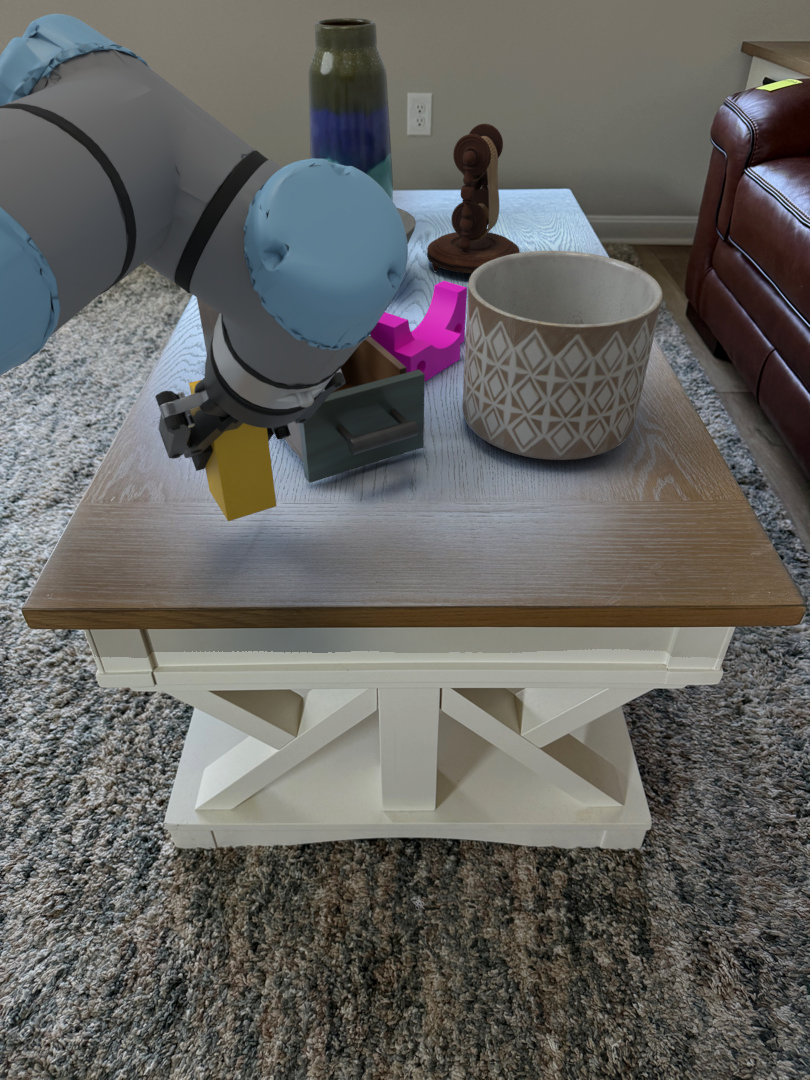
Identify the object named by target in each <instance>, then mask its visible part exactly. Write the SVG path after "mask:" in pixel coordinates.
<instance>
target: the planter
mask: <svg viewBox="0 0 810 1080" xmlns="http://www.w3.org/2000/svg"><path fill="white" fill-rule="evenodd" d="M470 274H471V275H470V276H469V279H468V287H467V302H466V321H465V340H464V342H465V345H464V360H463V361H464V363H463V379H462V381H463V382H462V400H461V402H462V403H461V410H462V415H463V418H464V420H465V422H466V424H467V425H468V427H469V428H470V429H471V430H472V431H473V433H475V434H476V435H477V436H478V437H479V438H481V439H482V440H484V442H487V443H488V444H490V445H492V446H494V447H496V448H498V449H501V450H503V451H506V452H509V453H511V454H514V455H518V456H523V457H525V458H526V457H528V458H532V459H539V460H550V461H569V460H571V461H572V460H581V459H585V458H590V457H595V456H598V455H601V454H604V453H607V452H609V451H611V450H613V449H615V448H617V447H618V446H620V445H621V444H622V443H623V442H625V441H626V440H627V438H628V437H629V436H630V435H631V433H632V432H633V431H634V428H635V424H636V421H637V416H638V411H639V407H640V403H641V397H642V393H643V388H644V384H645V379H646V374H647V370H648V366H649V361H650V356H651V351H652V347H653V343H654V337H655V333H656V329H657V324H658V320H659V315H660V310H661V306H662V302H663V295H664V294H663V289H662V287H661V286H660V284H659V283H658V281H657V280H656V279H655V278H654V277H653V276H652V275H650V273H647V272H646V271H645V270H643V269H641V268H639V267H637V266H635V265H633V264H630V263H628V262H625V261H623V260H619V259H616V258H612V257H608V256H604V255H600V254H595V253H589V252H580V251H574V250H573V251H572V250H531V251H523V252H520V253H516V254H510V255H506V256H502V257H499V258H496V259H493V260H491V261H488V262H486V263H484V264H483V265H481V266H480V267H478V268H477V269H476V270H475V271H474V272H473V273H470Z"/></svg>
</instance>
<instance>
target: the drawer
mask: <svg viewBox="0 0 810 1080" xmlns="http://www.w3.org/2000/svg"><path fill="white" fill-rule="evenodd" d="M341 371H342V373H343V376H344V379H345V382H346V383H345V384H344V385H342V387H340V388H338V389H336V390H335V391H333V392H332V393H331V394H330V395H329V396H328V397H327V399H326V400H325V401H324V402H323V403H322V404H321V406H320V407H319V408H318V409H317V410H316V411H315V413H314V414H313V415H312V416H311V417H310V418H309V419H308V420H307V421H306V422H304V423H296V422H295V421H294V422H292V423H289V424H288V428H289V431H290V434H291V435H290V436H289V437H286V438H284V439H283V440H284V441H285V443H287V444H288V446H289V447H290V448H291V450H292V451H293V452H294V453H295V455H297V457H298V458H299V459H300V461H301V462H302V463H303V472H304V478H305V479H306V481H307V482H308V483H309V484H311V483H314V482H317V481H320V480H324V479H326V478H329V477H334V476H337V475H339V474H343V473H346V472H349V471H353V470H357V469H359V468H362V467H365V466H369V465H372V464H375V463H378V462H381V461H384V460H387V459H391V458H394V457H397V456H401V455H404V454H407V453H410V452H413V451H417V450H421V449H423V448H424V442H425V441H424V440H425V439H424V437H425V433H424V432H425V425H424V424H425V382H426V381H425V374H424V373H423V372H421V371H420V370H415V371H411V372H408V373H406V367H405V366H404V365H403V364H402V363H401V362H399V361H398V360H397V359H396V358H395V357H394V356H392V355H391V354H390V353H389V352H388V351H387V350H385V349H384V348H383V347H382V346H381V345H380V344H378V343H377V342H376V341H375V340H374V339H373V338H371V337H370V335H369V336H368V337H367V338H366V339H365V340H364V341H363V342H362V343H361V344H360V345H359V346H358V348H357V349H356V350H355V351H354V352H353V354H352V355H351V356H350V357H349V358H348V360H347V361H346V362H345V363H344V364H343V366H342V367H341Z"/></svg>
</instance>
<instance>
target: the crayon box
mask: <svg viewBox="0 0 810 1080" xmlns="http://www.w3.org/2000/svg"><path fill="white" fill-rule="evenodd" d="M201 380H202V379H199V380H194V381H191V382H188V385H189V391H190V395H192V394H194V393H195V392H194V389H195V386H196V384H197V383H198V382H199V381H201ZM211 446H212V449H213V452H212V454H211V456H210V458H209V460H208V462H207V464H206V466H205V469H204V471H205V474H206V475H205V476H206V479H207V484H208V491H209V493H210V494H211V496H212V498H213V499H214V501H215V502H216V504H217V506H218V508H219V509H220V511H221V512H222V514H223V516H224V517H225V519H226V521H227V522H230V521H235V520H237V519H240V518H244V517H247V516H251V515H253V514H256V513H259V512H263V511H266V510H269V509H272V508H276V507H277V506H278V505H277V498H276V490H275V483H274V475H273V474H274V473H273V467H272V459H271V449H270V442H269V441H268V434H267V428H261V427H255V426H251V425H248V424H245V423H243V424H242V425H241V426H240V427H239V428H237V429H234V430H229V431H225V432H224V433H223V434H222V435H220V436H219V437H218V438H217V439H216V440H215V441H214V442H213V443H212V444H211Z"/></svg>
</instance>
